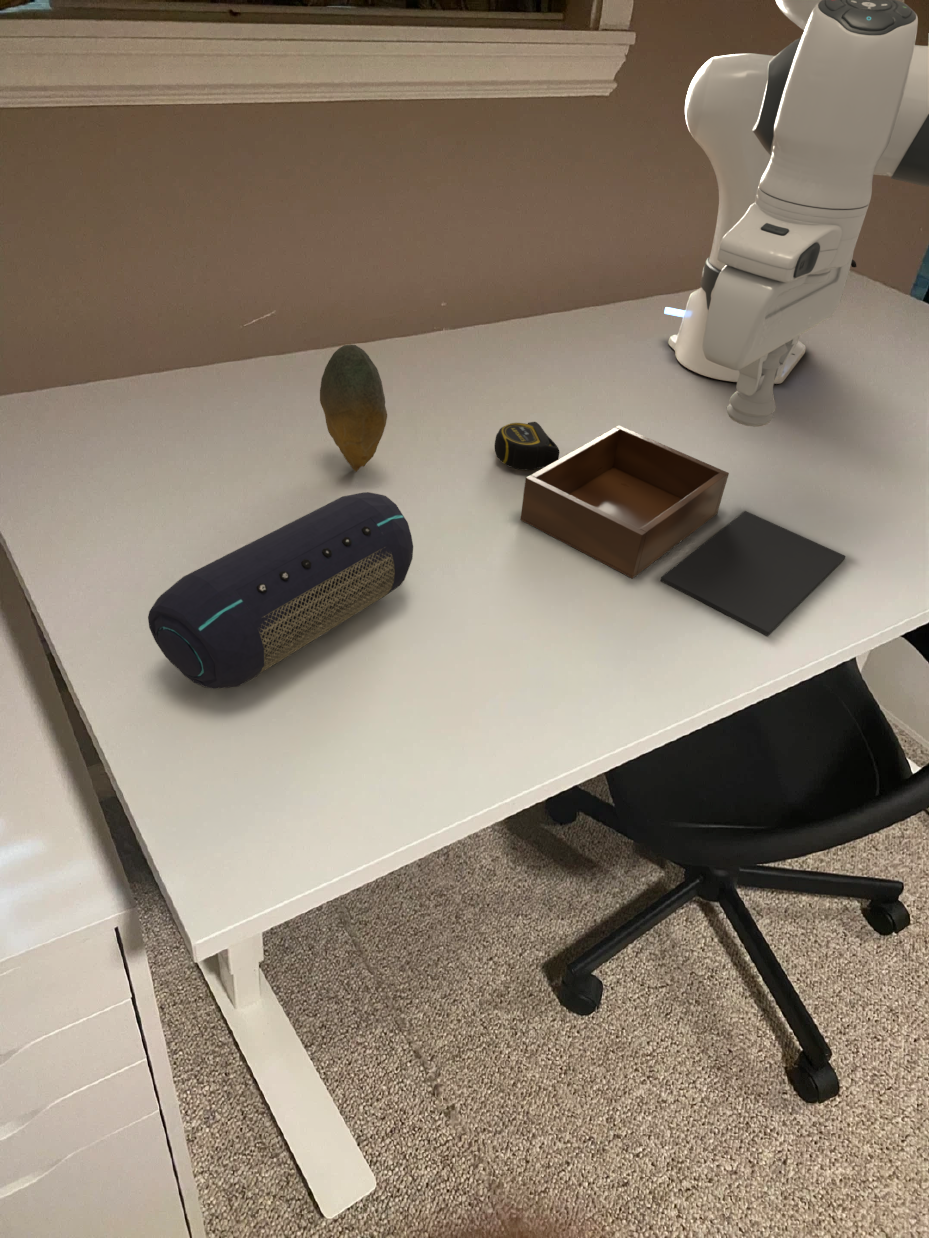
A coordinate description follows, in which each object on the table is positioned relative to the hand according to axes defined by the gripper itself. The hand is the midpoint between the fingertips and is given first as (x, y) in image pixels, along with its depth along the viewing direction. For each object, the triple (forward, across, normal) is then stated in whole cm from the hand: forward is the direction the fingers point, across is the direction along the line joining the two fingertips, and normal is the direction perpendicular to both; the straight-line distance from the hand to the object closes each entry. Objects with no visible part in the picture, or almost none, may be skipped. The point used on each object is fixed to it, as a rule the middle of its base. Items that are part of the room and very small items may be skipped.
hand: (757, 385), depth 85 cm
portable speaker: (+19, +40, -20) cm, 48 cm away
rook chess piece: (+4, 0, 0) cm, 4 cm away
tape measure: (+19, 0, -25) cm, 32 cm away
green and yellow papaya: (+19, +17, -37) cm, 45 cm away
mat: (+19, -1, +5) cm, 20 cm away
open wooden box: (+19, +1, -10) cm, 22 cm away
